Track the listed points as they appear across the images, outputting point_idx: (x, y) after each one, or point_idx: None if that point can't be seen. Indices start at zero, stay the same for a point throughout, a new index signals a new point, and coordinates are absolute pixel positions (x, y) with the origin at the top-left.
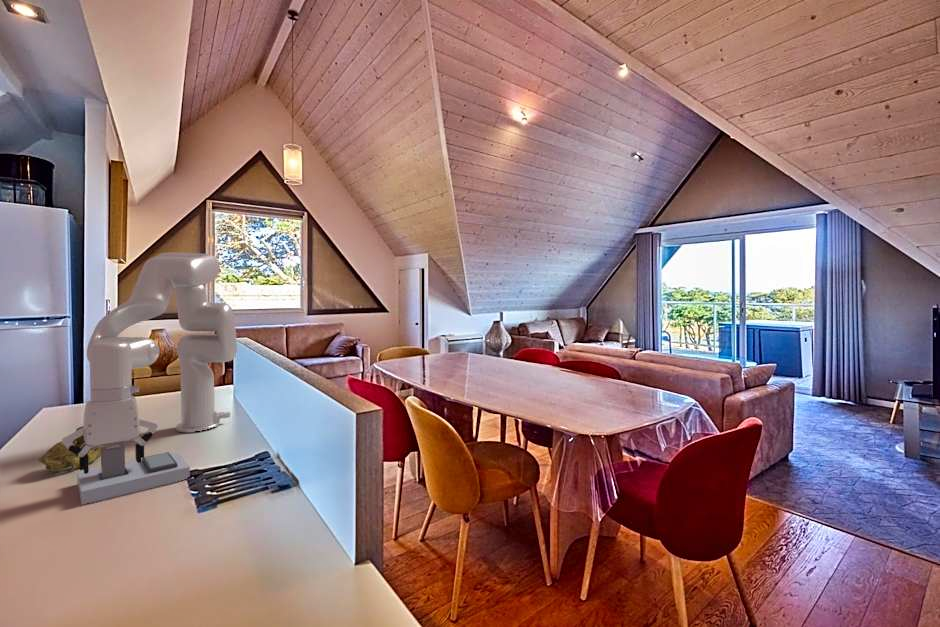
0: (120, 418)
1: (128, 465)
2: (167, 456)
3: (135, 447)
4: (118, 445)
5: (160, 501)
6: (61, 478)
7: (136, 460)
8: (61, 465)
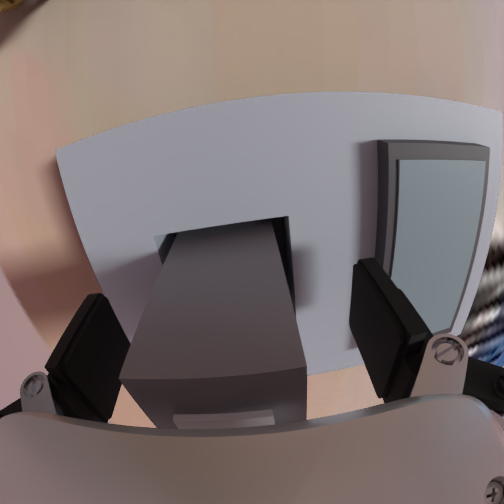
0: None
1: (304, 181)
2: (471, 229)
3: (388, 321)
4: (269, 423)
5: (339, 399)
6: (37, 43)
7: (352, 293)
8: (12, 4)
